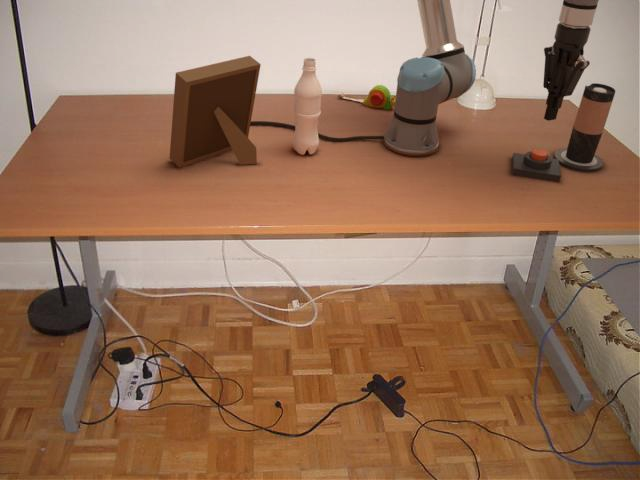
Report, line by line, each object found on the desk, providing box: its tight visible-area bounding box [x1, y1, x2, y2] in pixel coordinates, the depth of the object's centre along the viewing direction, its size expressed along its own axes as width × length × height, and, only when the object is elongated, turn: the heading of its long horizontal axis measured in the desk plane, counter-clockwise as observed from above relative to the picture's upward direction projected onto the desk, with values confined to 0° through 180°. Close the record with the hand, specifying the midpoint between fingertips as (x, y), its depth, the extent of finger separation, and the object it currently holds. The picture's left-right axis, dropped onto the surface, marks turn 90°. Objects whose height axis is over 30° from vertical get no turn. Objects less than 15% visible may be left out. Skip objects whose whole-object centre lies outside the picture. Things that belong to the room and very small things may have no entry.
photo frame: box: [169, 55, 261, 169], centre depth 159 cm, size 15×22×25 cm
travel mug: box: [566, 82, 616, 164], centre depth 172 cm, size 8×8×20 cm
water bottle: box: [291, 57, 323, 156], centre depth 167 cm, size 7×7×25 cm
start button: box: [531, 148, 548, 161], centre depth 169 cm, size 4×4×2 cm
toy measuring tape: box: [338, 84, 396, 111], centre depth 203 cm, size 6×20×7 cm, turn 65°
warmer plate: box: [553, 147, 604, 173], centre depth 177 cm, size 13×13×1 cm
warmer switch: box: [511, 150, 562, 183], centre depth 170 cm, size 12×10×4 cm
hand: (549, 118), depth 163 cm, fingers closed
